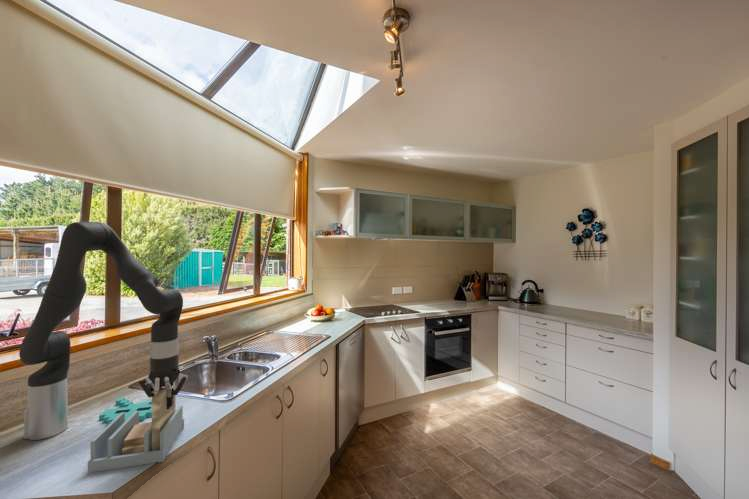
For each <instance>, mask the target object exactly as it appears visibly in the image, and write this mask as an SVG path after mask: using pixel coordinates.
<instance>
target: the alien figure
mask: <svg viewBox="0 0 749 499" xmlns="http://www.w3.org/2000/svg"><path fill="white" fill-rule="evenodd" d="M115 406H118V407H116V408H107V409H104V411H103V412H101V413H100V414H99V415H98V419H99V420H98V421H102V423H104V424H105V423H106V425H107V426H108V425H109V424H110V423H111V422H112V421H113V420H114V419H115V418H116V417H117V416H118V415H119V414H120V413H121V412H125V421H126V420H127V419H128V418H129V417H130V416H131V415H132V414H133V413H134V412H135V411H139V422H144V421H145V420H146V419H147V418H152V399H151V400H150V401H147V402H138V403H133V401H130V400H129V399H126V397H119V398H117V399H115Z"/></svg>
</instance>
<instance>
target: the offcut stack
mask: <svg viewBox="0 0 749 499" xmlns="http://www.w3.org/2000/svg"><path fill="white" fill-rule="evenodd" d="M151 425H152V421H151V422H144V423H139V424H136V425H134V427H133V428H132V430H131V431H130V432H129V434H128V435H127V437H126V438H125V440H124V448H123V449H122V455H127V454H134V453H141V452H144V434H145V433H146V432H147V430H148V429H149V428H150V427H151Z"/></svg>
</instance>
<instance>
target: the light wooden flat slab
mask: <svg viewBox="0 0 749 499" xmlns="http://www.w3.org/2000/svg"><path fill="white" fill-rule="evenodd" d="M176 381H177V379H176V380H175V381H174V390H175V389H176V388H177V386H176V383H177V382H176ZM151 400H152V417H151V422H152V451H156V450H160V432H161V430H162V429H163V428H164V426H165V425H166V424H167V422H168V421H169V419H170V418H171V417H172V415H173V414H174V413H175V411H176V395H174V403H173V405H172V407H171V408H170V409H167V391H166V387H165V386H163V387H162V388H161V389H160V390H159V391H158V392H157V393H156V394H155V395H154V396H153V397H151Z"/></svg>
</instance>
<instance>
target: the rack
mask: <svg viewBox="0 0 749 499" xmlns="http://www.w3.org/2000/svg"><path fill="white" fill-rule="evenodd" d="M183 408H184V407H183V405H179V406H178V407H176V409H175V413H174V414H173V415H172V417H171V418H170V419H169V421H168V422H167V424H166V425H165V426H164V428H163V429H162V430H161V432H160V450H156V451H152V425H151V427H150V428H149V429H148V430H147V432H146V433H145V434H144V452H141V453H134V454H127V455H122V449H123V448H124V440H125V438H126V437H127V435H128V434H129V432H130V431H131V430H132V428H133V427H134V425H136V424H140V421H139V411H135V412H134V413H133V414H132V415H131V416H130V417H129V418H128V419H127V420H126V421H125V412H121V413H120V414H119V415H118V416H117V417H116V418H115V419H114V420H113V421H112V422H111V423H110V424H109V425H107V426H105V427H104V428H103V429H102V430H101V431H100V432H99V433H98V434H97V435H95V437H94V438H93V439H92V440H91V441H90V459H89V460H88V461H87V473H88V474H90V473H96V472H97V473H98V472H102V471H103V472H104V471H110V470H117V469H124V468H131V467H136V465H138V466H142V464H145V465H150V463H151V464H155V463H154V462H158V463H163V462H164V461H165V458H166V457H167V455H168V454H167V452H168V451H169V452H170V450H171V449H170V447H171V446H172V447H173V445H174V444H175V442H176V441H175V440H177V439H176V438H178V437H179V436H180V434H181V433H182V431H183V430H184V428H185V418H184V416H183V413H184V412H183V410H184V409H183ZM178 435H179V436H178ZM177 436H178V437H177ZM174 441H175V442H174ZM173 443H174V444H173ZM172 444H173V445H172ZM172 447H171V448H172ZM169 449H170V450H169ZM169 452H168V453H169ZM166 454H167V455H166ZM165 456H166V457H165ZM130 466H131V467H130Z"/></svg>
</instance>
